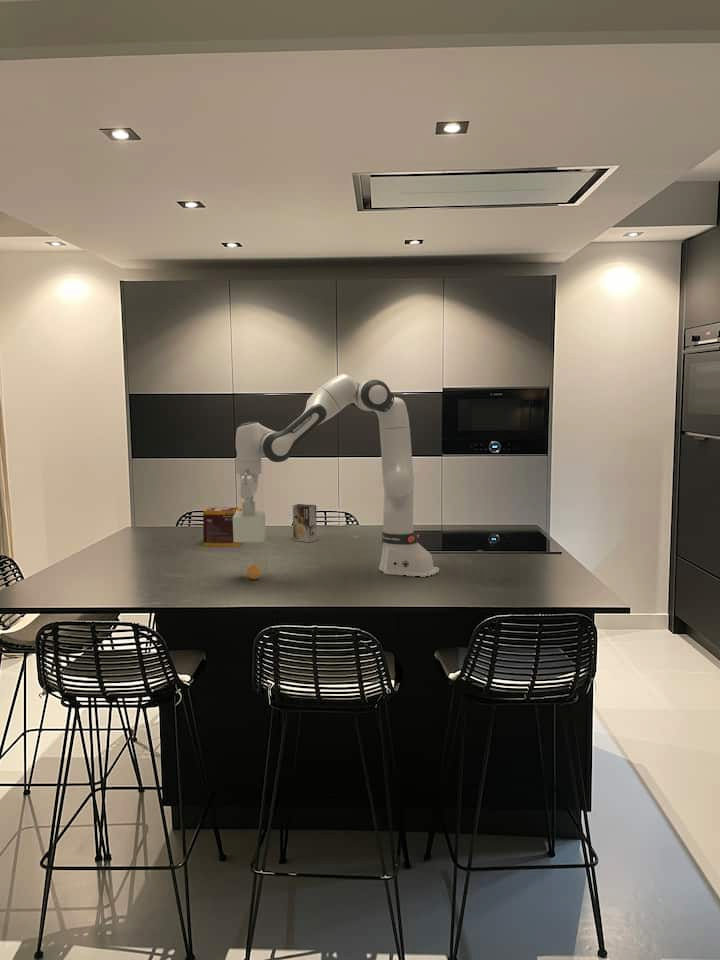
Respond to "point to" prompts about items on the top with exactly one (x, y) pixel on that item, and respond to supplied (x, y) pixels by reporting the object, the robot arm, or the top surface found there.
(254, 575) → the ball
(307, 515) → the coffee box
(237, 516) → the pale sage box
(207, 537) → the supplement box
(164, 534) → the top surface
